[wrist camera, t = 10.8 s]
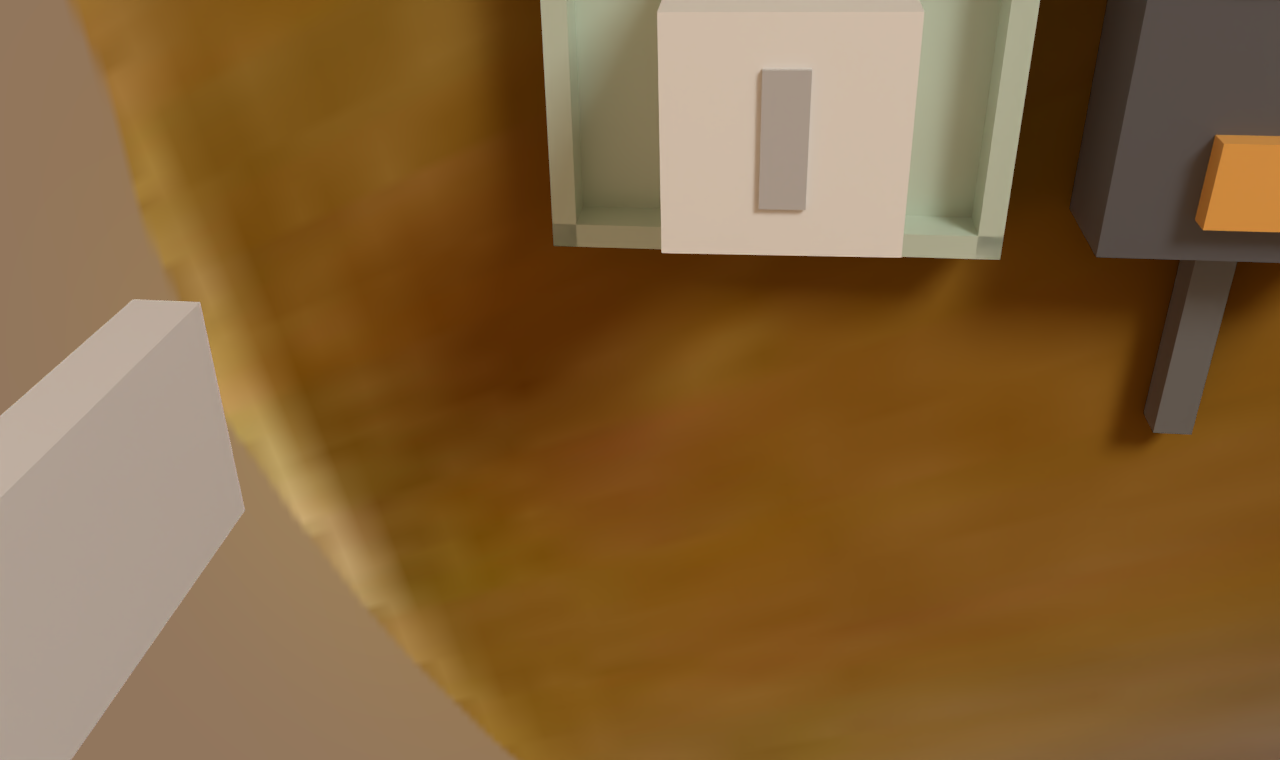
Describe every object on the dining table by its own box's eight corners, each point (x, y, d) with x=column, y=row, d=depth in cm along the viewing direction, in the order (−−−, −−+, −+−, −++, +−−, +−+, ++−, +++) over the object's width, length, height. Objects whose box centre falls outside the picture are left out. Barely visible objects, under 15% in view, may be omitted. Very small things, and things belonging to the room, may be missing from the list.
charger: (869, 102, 28) (901, 259, 20) (694, 101, 29) (660, 255, 21) (882, -84, 26) (925, 12, 18) (694, -82, 27) (656, 13, 19)
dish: (986, 224, 31) (999, 259, 29) (567, 212, 32) (553, 246, 30) (1057, -258, 25) (1079, -253, 23) (545, -253, 26) (526, -248, 24)
